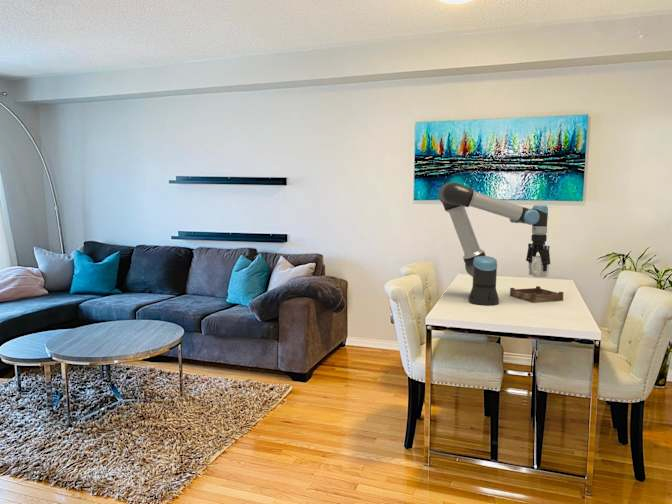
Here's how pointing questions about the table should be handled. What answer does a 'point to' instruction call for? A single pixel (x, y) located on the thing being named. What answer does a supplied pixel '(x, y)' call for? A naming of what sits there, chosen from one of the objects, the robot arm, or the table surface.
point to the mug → (538, 267)
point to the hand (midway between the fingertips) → (537, 275)
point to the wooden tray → (536, 295)
